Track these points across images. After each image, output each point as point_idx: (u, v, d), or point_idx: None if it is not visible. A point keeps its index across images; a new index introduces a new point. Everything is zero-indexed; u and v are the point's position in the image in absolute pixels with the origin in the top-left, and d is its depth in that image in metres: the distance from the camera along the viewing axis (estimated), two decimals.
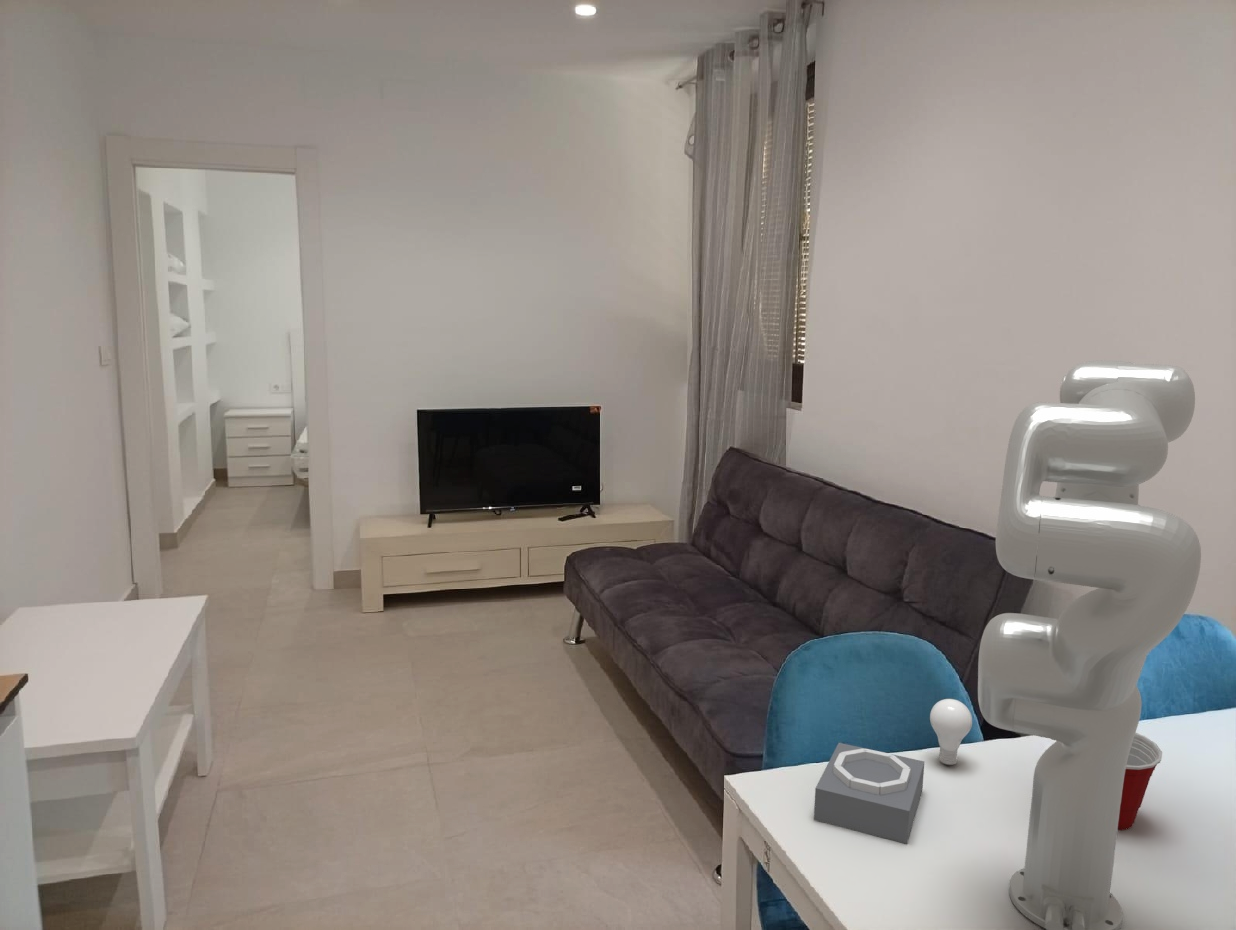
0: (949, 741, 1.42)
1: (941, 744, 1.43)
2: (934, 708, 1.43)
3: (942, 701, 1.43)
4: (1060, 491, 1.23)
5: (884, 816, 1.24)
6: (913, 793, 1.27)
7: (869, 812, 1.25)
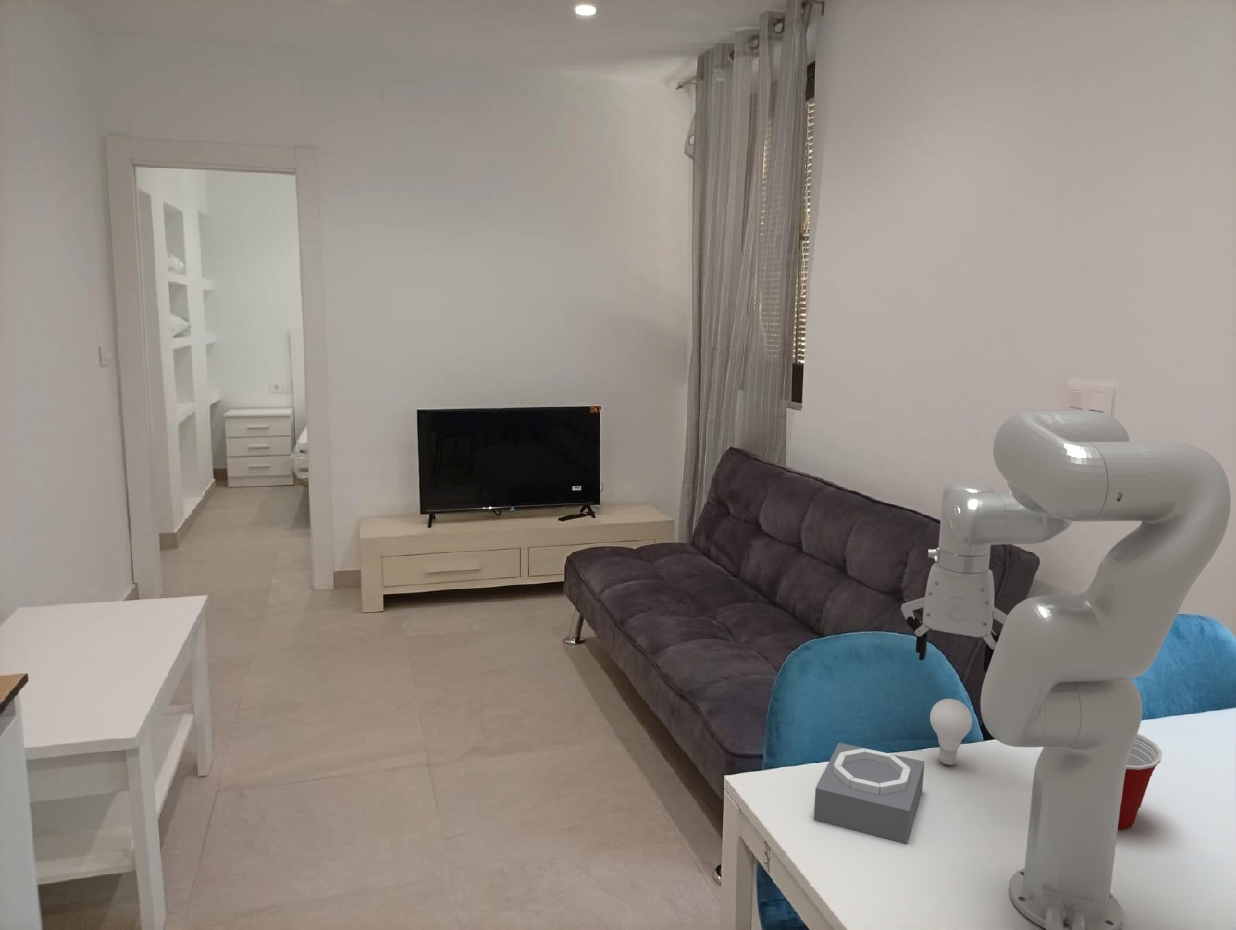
0: (949, 741, 1.42)
1: (941, 744, 1.43)
2: (934, 708, 1.43)
3: (942, 701, 1.43)
4: (928, 594, 1.39)
5: (884, 816, 1.24)
6: (913, 793, 1.27)
7: (869, 812, 1.25)
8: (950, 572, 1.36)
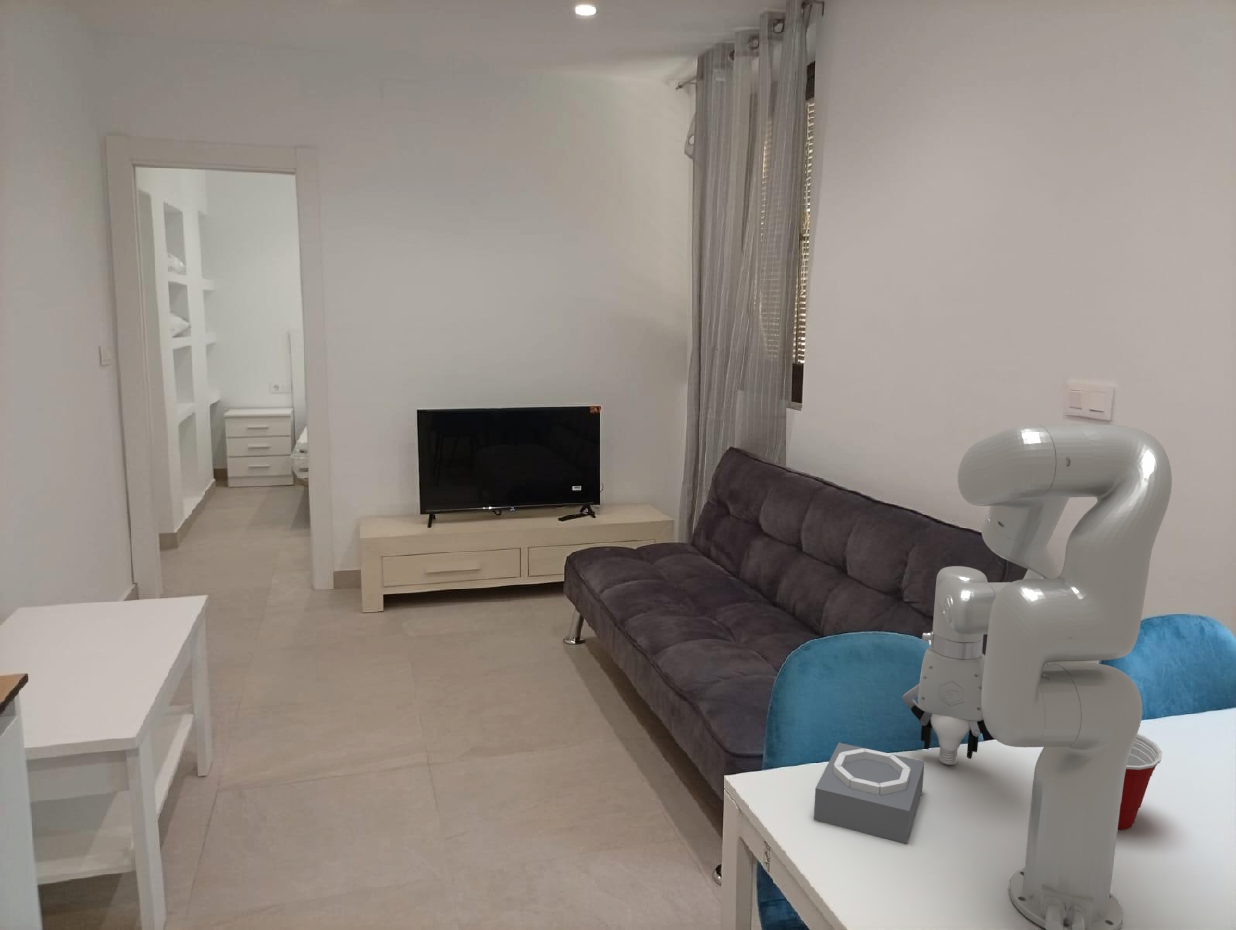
0: (949, 741, 1.42)
1: (941, 744, 1.43)
2: None
3: None
4: (922, 678, 1.42)
5: (884, 816, 1.24)
6: (913, 793, 1.27)
7: (869, 812, 1.25)
8: (944, 657, 1.39)
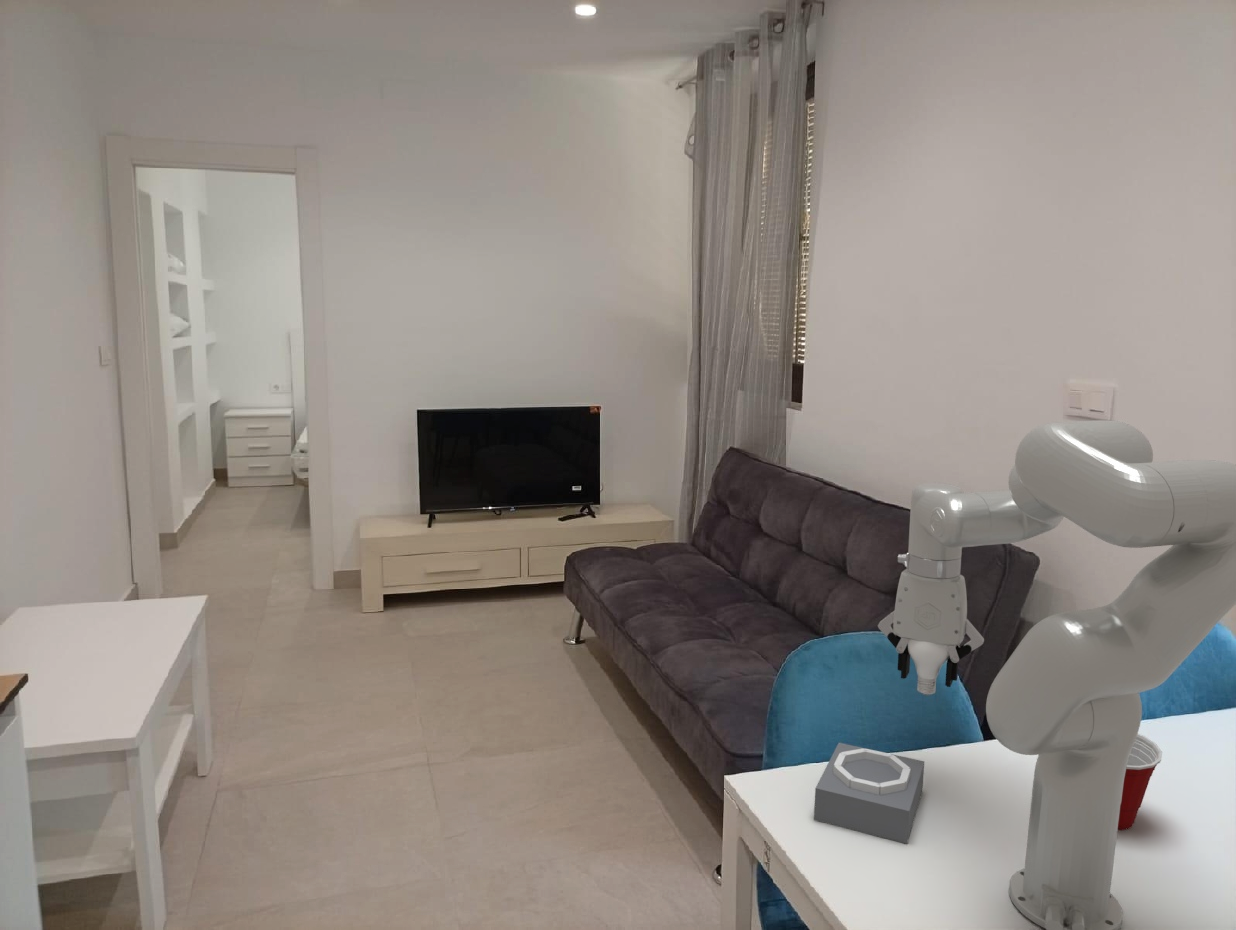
0: (926, 668, 1.34)
1: (919, 672, 1.36)
2: None
3: None
4: (897, 601, 1.34)
5: (884, 816, 1.24)
6: (913, 793, 1.27)
7: (869, 812, 1.25)
8: (919, 577, 1.31)
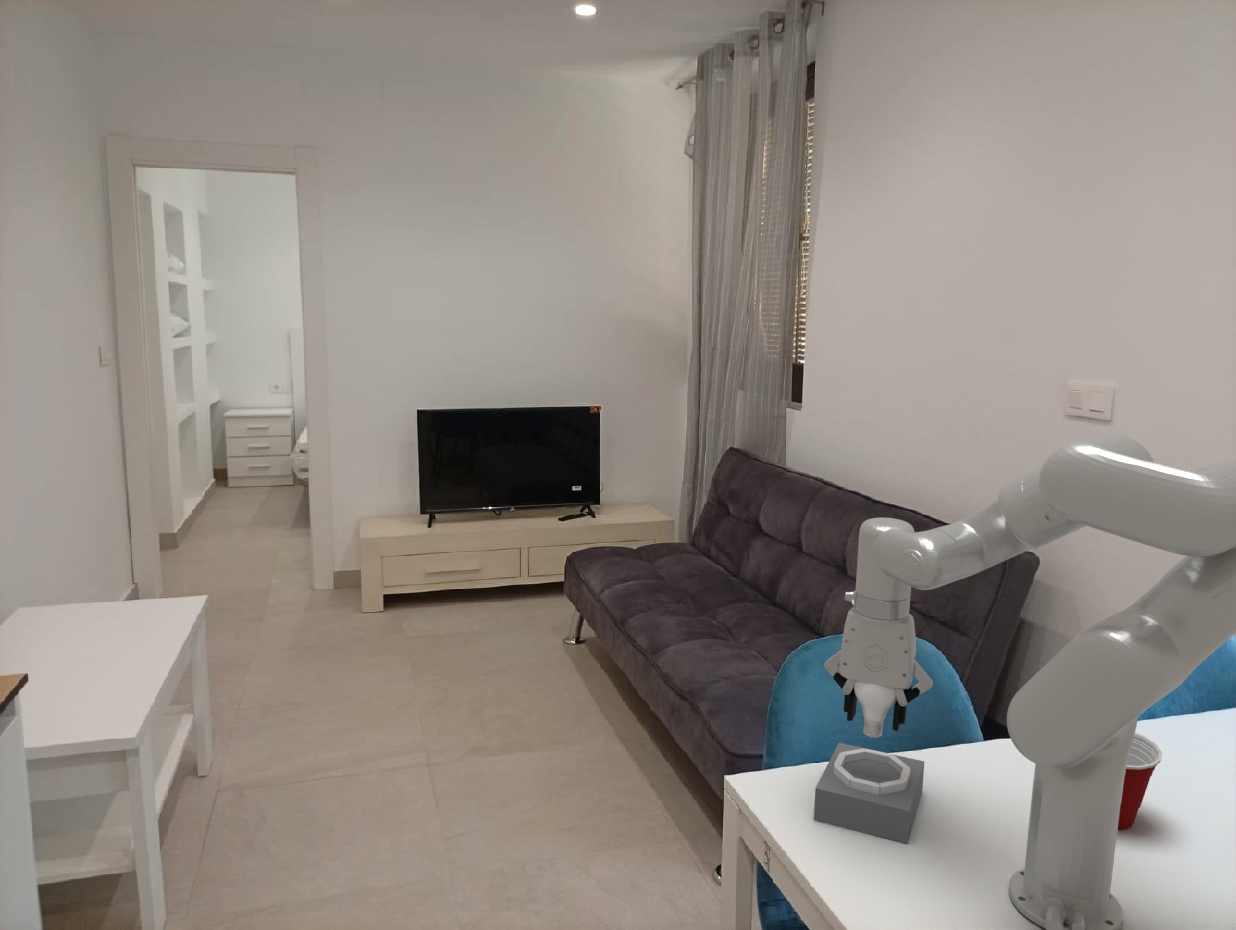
0: (873, 711, 1.28)
1: (865, 715, 1.29)
2: None
3: None
4: (844, 642, 1.28)
5: (884, 816, 1.24)
6: (913, 793, 1.27)
7: (869, 812, 1.25)
8: (866, 618, 1.25)
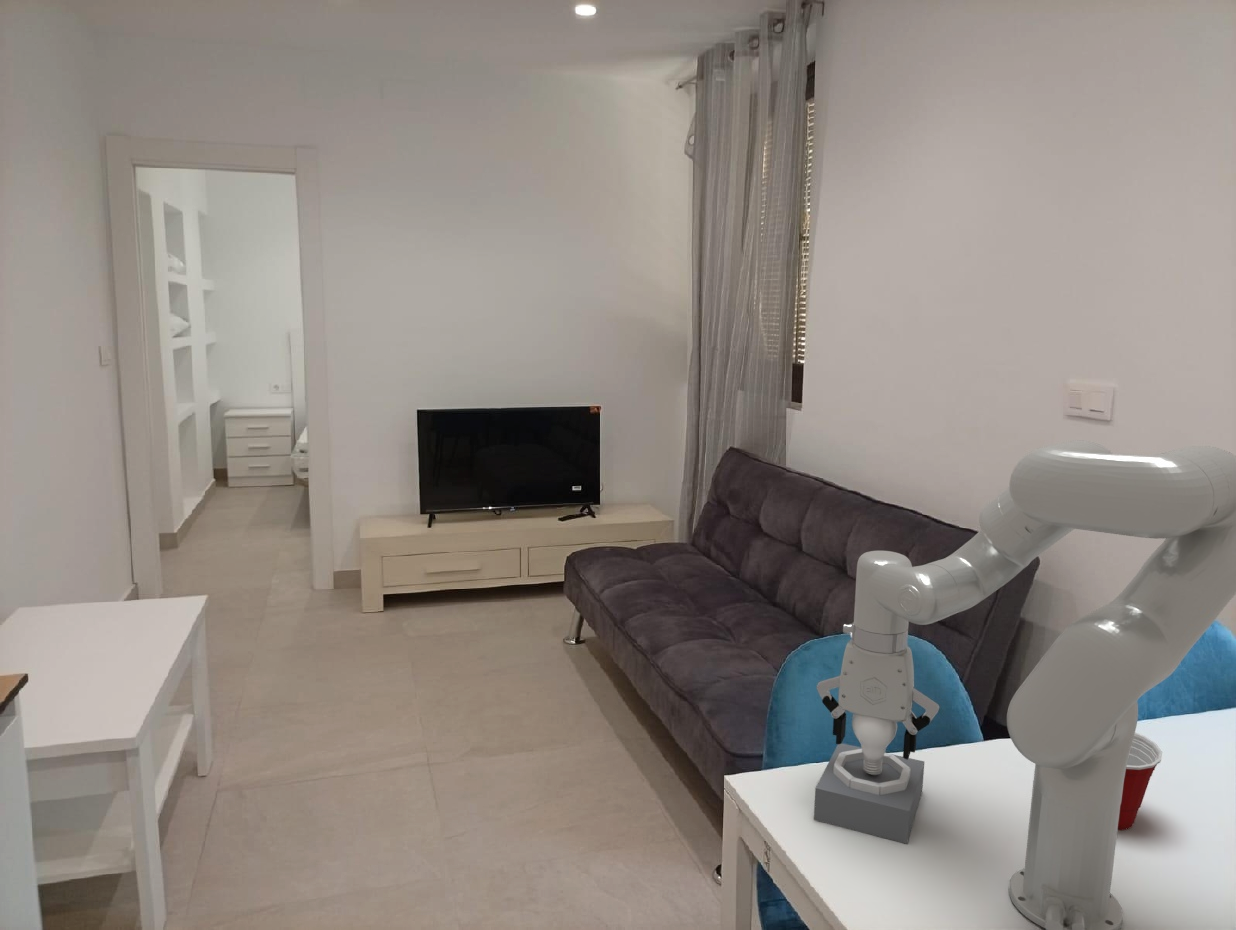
0: (872, 749, 1.29)
1: (864, 752, 1.30)
2: None
3: None
4: (843, 674, 1.29)
5: (884, 816, 1.24)
6: (913, 793, 1.27)
7: (869, 812, 1.25)
8: (864, 651, 1.26)
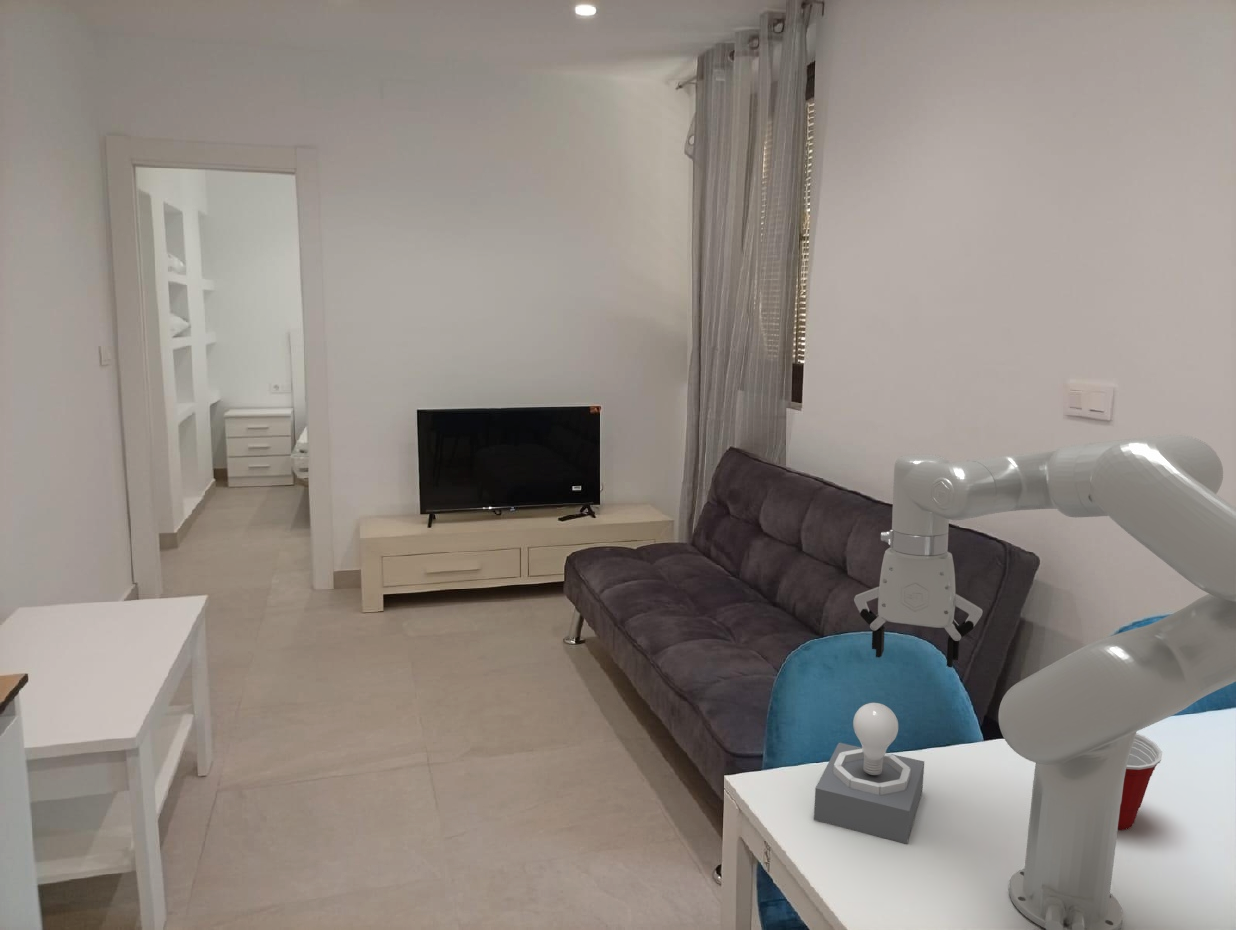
0: (872, 749, 1.29)
1: (865, 752, 1.30)
2: (857, 713, 1.30)
3: (866, 705, 1.30)
4: (882, 582, 1.25)
5: (884, 816, 1.24)
6: (913, 793, 1.27)
7: (869, 812, 1.25)
8: (905, 555, 1.22)
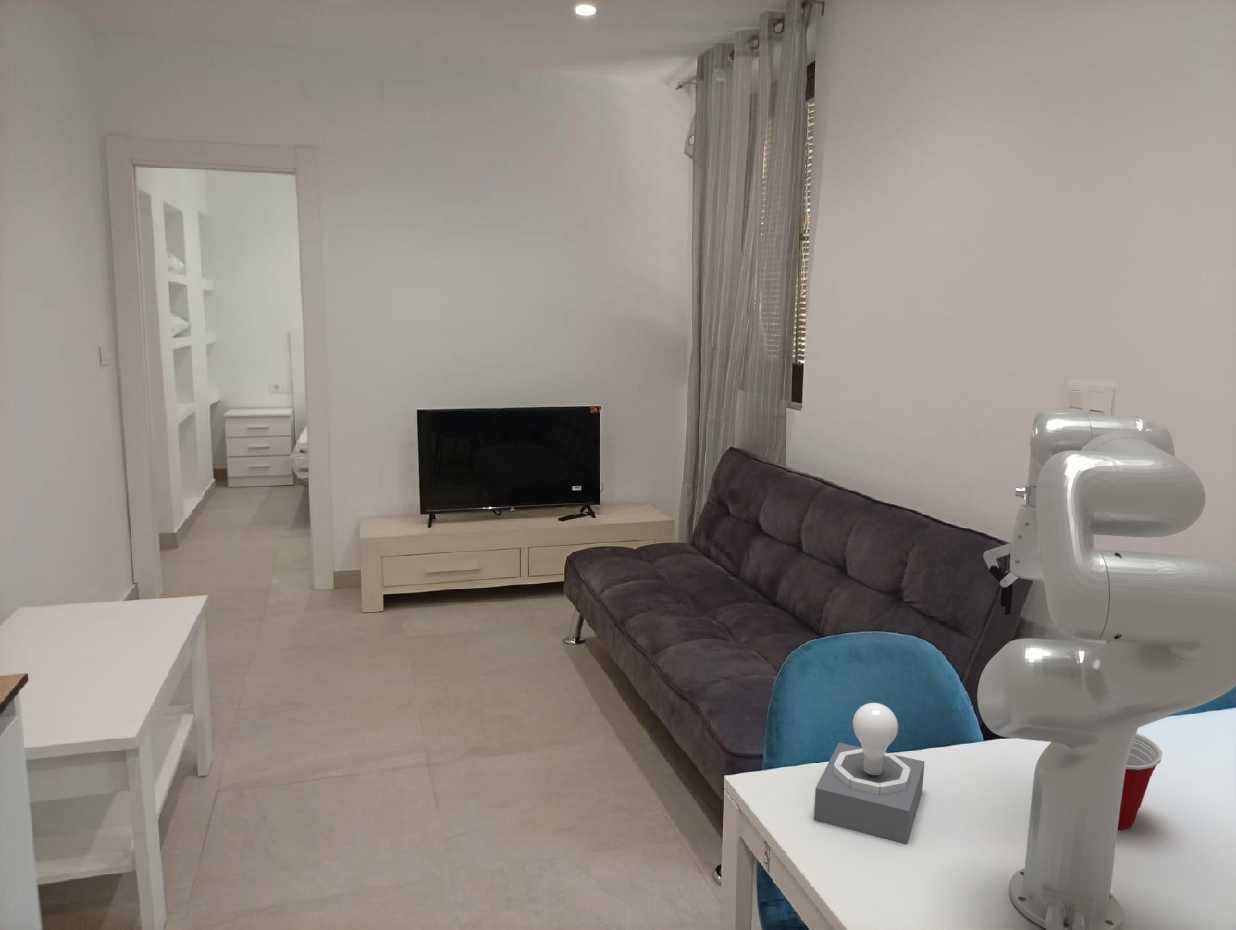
0: (872, 749, 1.29)
1: (864, 752, 1.30)
2: (857, 713, 1.30)
3: (865, 705, 1.30)
4: (1016, 538, 1.23)
5: (884, 816, 1.24)
6: (913, 793, 1.27)
7: (869, 812, 1.25)
8: None
